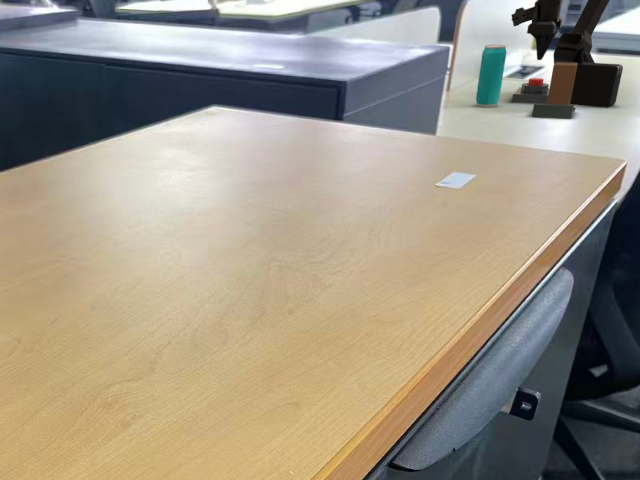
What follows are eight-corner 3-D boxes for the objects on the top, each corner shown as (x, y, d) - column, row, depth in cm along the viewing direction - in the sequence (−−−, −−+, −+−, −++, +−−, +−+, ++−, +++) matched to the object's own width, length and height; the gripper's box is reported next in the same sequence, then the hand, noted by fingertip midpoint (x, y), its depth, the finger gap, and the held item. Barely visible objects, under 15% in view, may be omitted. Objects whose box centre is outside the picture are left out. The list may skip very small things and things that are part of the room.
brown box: (548, 107, 223) (556, 62, 218) (569, 108, 220) (577, 62, 215) (545, 110, 219) (553, 64, 214) (567, 111, 217) (575, 65, 211)
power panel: (518, 95, 239) (520, 80, 238) (553, 97, 235) (556, 81, 233) (511, 102, 230) (513, 87, 228) (547, 104, 226) (550, 88, 224)
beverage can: (497, 104, 229) (507, 44, 222) (498, 108, 224) (507, 46, 217) (474, 104, 230) (483, 44, 224) (475, 107, 226) (483, 47, 219)
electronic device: (574, 102, 227) (582, 62, 223) (615, 105, 221) (623, 64, 216) (568, 104, 225) (576, 64, 220) (608, 108, 218) (617, 66, 214)
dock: (536, 110, 219) (538, 98, 217) (574, 112, 215) (577, 100, 213) (531, 116, 212) (533, 104, 211) (570, 118, 208) (573, 106, 207)
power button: (528, 84, 233) (530, 77, 232) (543, 85, 232) (544, 78, 231) (526, 86, 231) (528, 79, 230) (541, 87, 229) (542, 80, 228)
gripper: (522, -7, 232) (512, 55, 239) (511, -2, 218) (501, 63, 225) (567, -7, 227) (556, 56, 234) (559, -2, 213) (547, 64, 220)
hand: (539, 59), depth 228 cm, fingers closed
